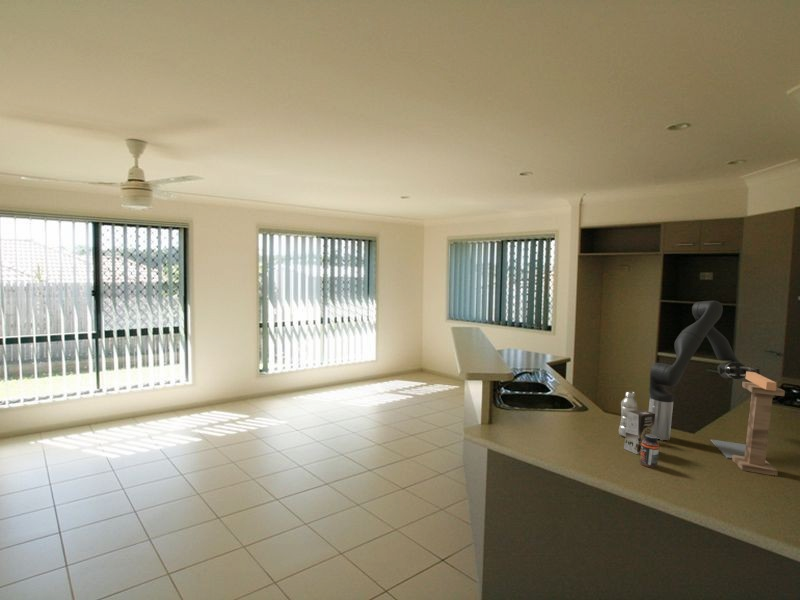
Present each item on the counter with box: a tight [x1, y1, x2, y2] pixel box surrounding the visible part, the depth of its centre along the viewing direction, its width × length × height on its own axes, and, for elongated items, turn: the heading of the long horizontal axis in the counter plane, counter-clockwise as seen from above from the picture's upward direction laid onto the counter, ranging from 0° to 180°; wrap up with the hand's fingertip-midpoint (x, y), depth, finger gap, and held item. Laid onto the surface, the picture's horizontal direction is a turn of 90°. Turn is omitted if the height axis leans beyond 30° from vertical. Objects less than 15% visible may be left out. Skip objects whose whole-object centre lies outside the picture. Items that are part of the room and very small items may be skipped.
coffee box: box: [623, 409, 655, 455], centre depth 189 cm, size 9×6×16 cm
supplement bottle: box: [639, 434, 660, 469], centre depth 175 cm, size 6×6×11 cm
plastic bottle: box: [618, 390, 638, 438], centre depth 206 cm, size 6×7×20 cm
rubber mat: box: [710, 439, 746, 460], centre depth 195 cm, size 22×14×1 cm, turn 161°
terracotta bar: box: [744, 371, 778, 391], centre depth 180 cm, size 20×3×3 cm, turn 161°
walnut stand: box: [731, 381, 786, 477], centre depth 178 cm, size 11×11×32 cm
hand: (741, 371), depth 195 cm, fingers open, 8 cm apart
